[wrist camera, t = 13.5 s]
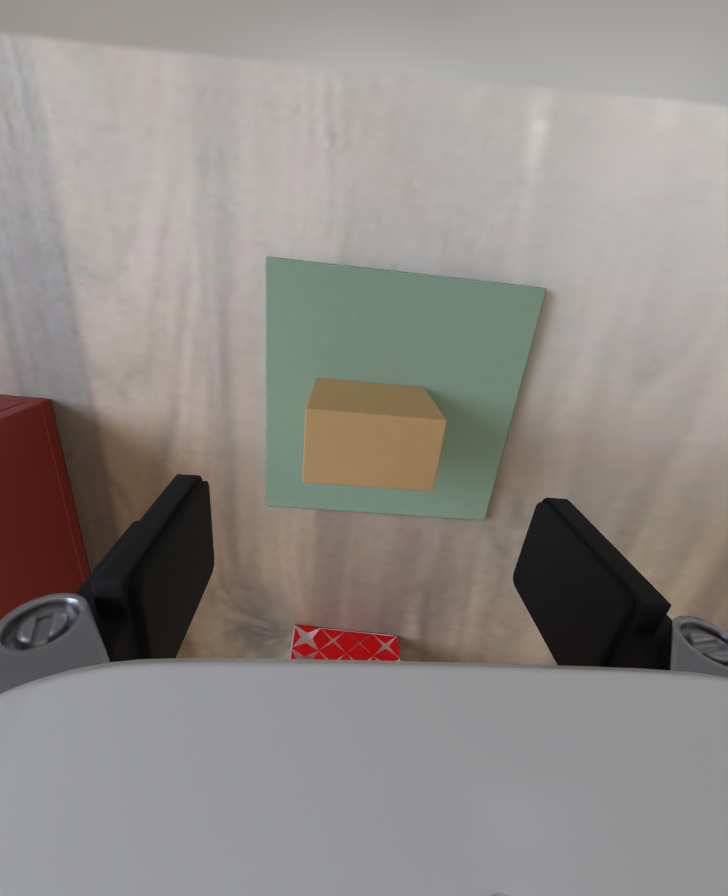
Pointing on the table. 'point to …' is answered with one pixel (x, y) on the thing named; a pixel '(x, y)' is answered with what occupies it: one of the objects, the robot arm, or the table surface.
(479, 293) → the plate
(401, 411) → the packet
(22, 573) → the red open box
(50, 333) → the table surface
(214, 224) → the table surface
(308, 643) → the puzzle cube
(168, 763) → the robot arm
